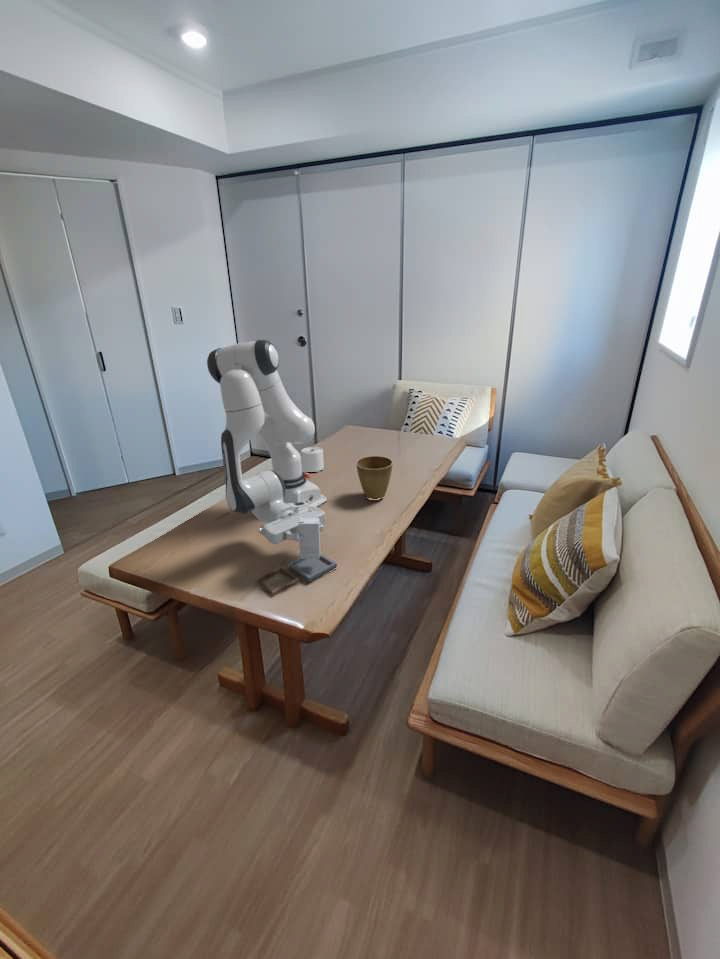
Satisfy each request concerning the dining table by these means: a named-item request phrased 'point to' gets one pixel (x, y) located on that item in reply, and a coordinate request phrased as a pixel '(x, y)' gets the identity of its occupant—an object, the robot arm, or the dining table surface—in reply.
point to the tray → (311, 567)
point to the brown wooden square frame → (280, 589)
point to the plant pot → (374, 475)
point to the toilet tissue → (312, 459)
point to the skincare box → (309, 538)
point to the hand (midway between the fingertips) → (311, 533)
